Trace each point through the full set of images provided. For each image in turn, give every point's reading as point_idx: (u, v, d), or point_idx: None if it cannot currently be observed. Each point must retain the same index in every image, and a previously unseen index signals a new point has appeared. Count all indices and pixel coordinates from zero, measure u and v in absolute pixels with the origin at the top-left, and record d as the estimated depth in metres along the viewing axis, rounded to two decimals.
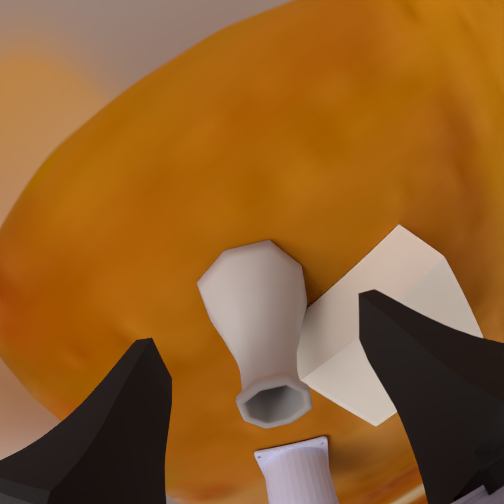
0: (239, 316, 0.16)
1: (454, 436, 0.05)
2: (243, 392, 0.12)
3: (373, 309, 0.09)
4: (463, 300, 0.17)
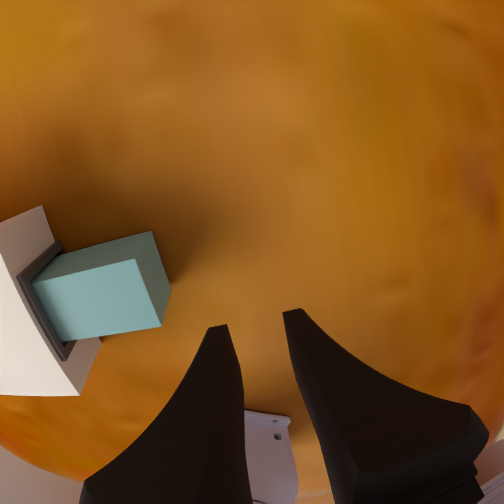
0: None
1: (341, 481, 0.05)
2: None
3: (289, 331, 0.09)
4: None
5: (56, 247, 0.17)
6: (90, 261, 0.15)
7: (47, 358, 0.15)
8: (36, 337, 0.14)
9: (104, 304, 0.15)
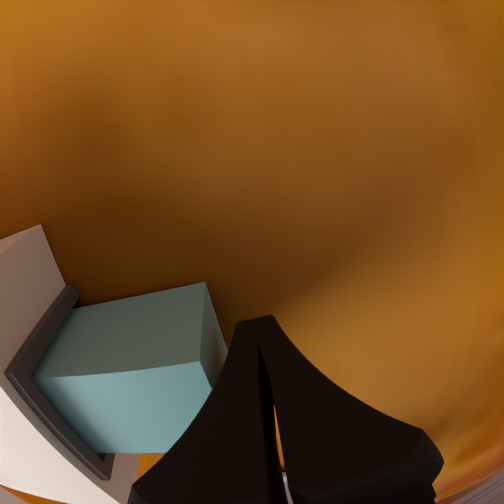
0: None
1: None
2: None
3: None
4: None
5: (69, 298, 0.10)
6: (102, 346, 0.08)
7: (78, 479, 0.08)
8: (57, 458, 0.07)
9: (138, 421, 0.08)
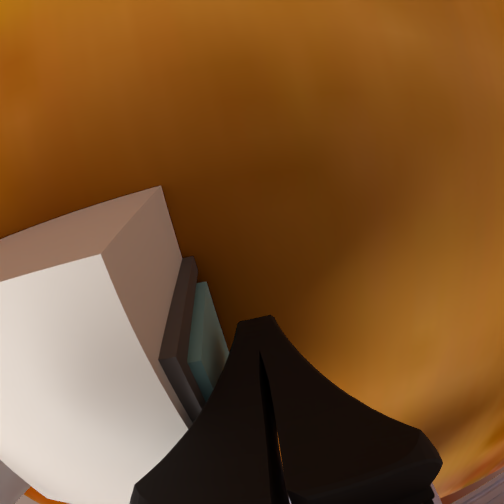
0: None
1: None
2: None
3: None
4: None
5: (194, 271, 0.10)
6: None
7: None
8: None
9: None
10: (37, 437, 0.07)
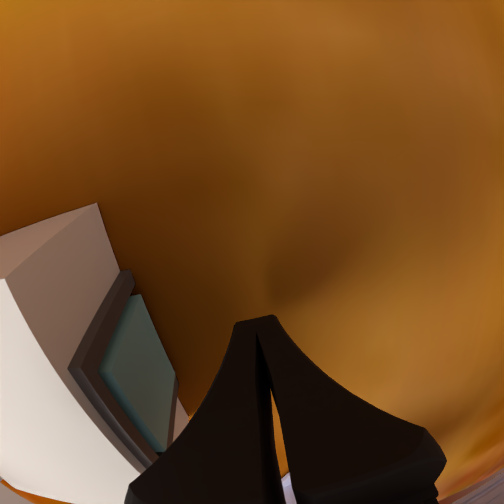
0: None
1: None
2: None
3: (258, 338, 0.09)
4: None
5: (127, 284, 0.10)
6: None
7: None
8: (117, 462, 0.07)
9: None
10: None
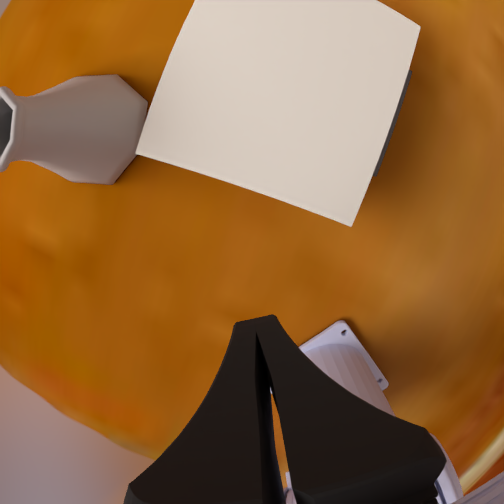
0: None
1: None
2: None
3: (258, 338, 0.09)
4: None
5: None
6: None
7: (365, 156, 0.13)
8: (381, 127, 0.12)
9: None
10: (288, 57, 0.11)
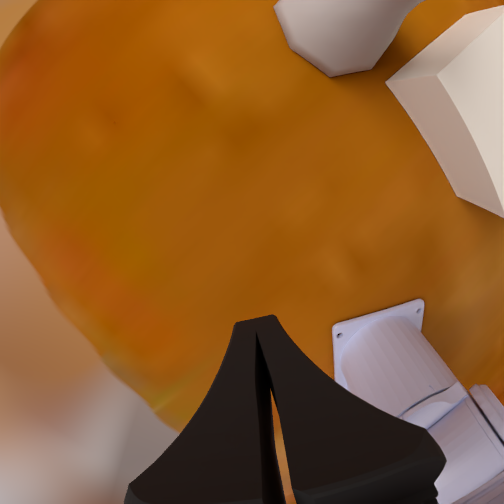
0: None
1: None
2: None
3: (258, 338, 0.09)
4: None
5: None
6: None
7: None
8: None
9: None
10: None
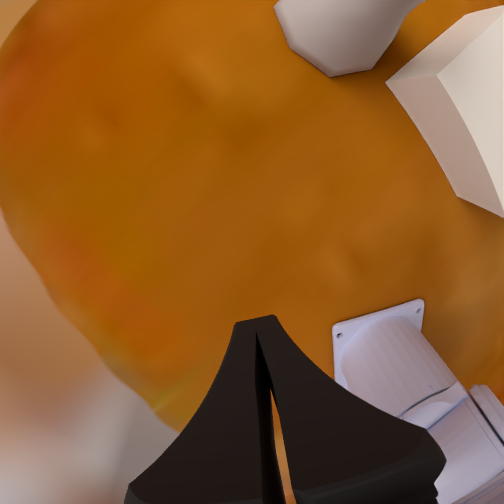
0: None
1: None
2: None
3: (258, 338, 0.09)
4: None
5: None
6: None
7: None
8: None
9: None
10: None
